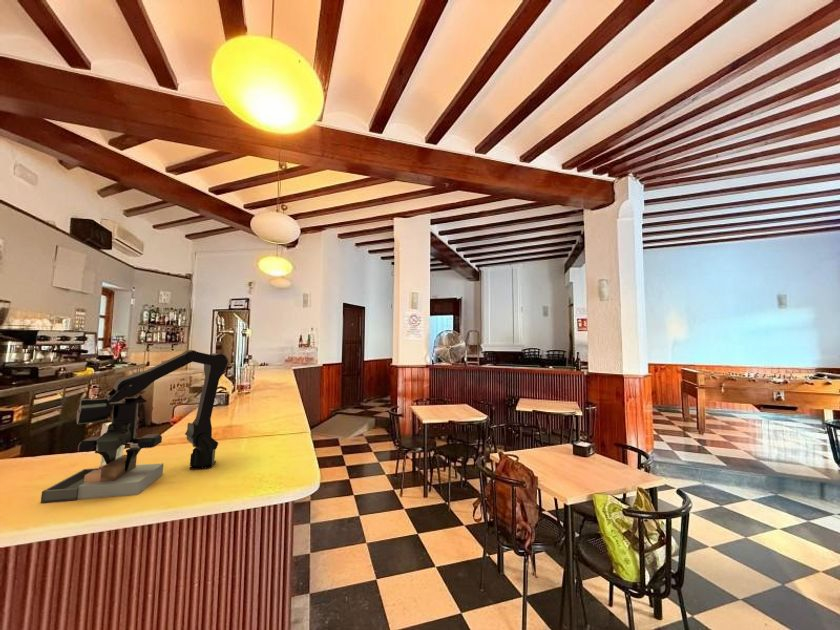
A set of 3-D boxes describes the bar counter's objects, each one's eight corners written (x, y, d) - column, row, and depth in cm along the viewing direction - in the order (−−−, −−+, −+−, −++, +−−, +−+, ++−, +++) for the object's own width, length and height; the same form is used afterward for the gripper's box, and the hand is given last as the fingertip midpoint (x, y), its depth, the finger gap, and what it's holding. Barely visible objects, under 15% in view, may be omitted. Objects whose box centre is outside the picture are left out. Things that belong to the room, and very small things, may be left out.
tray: (112, 476, 106) (113, 467, 106) (75, 500, 91) (77, 488, 91) (83, 478, 104) (84, 469, 104) (40, 503, 89) (41, 491, 89)
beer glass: (107, 472, 109) (112, 426, 111) (91, 470, 111) (96, 424, 112) (129, 465, 116) (134, 421, 117) (114, 463, 118) (118, 420, 119)
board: (162, 474, 109) (163, 463, 110) (137, 494, 95) (139, 481, 95) (111, 477, 106) (112, 466, 106) (77, 499, 91) (78, 486, 92)
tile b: (109, 475, 99) (110, 468, 99) (101, 481, 95) (101, 474, 95) (93, 477, 98) (94, 470, 98) (83, 482, 94) (84, 475, 94)
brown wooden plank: (135, 466, 106) (136, 453, 106) (115, 480, 95) (116, 466, 96) (122, 467, 105) (123, 454, 105) (100, 481, 94) (101, 467, 95)
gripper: (66, 426, 91) (59, 485, 90) (147, 423, 96) (141, 479, 95) (93, 417, 102) (88, 470, 101) (164, 415, 107) (160, 465, 106)
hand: (119, 471), depth 100 cm, fingers closed on brown wooden plank, 3 cm apart
